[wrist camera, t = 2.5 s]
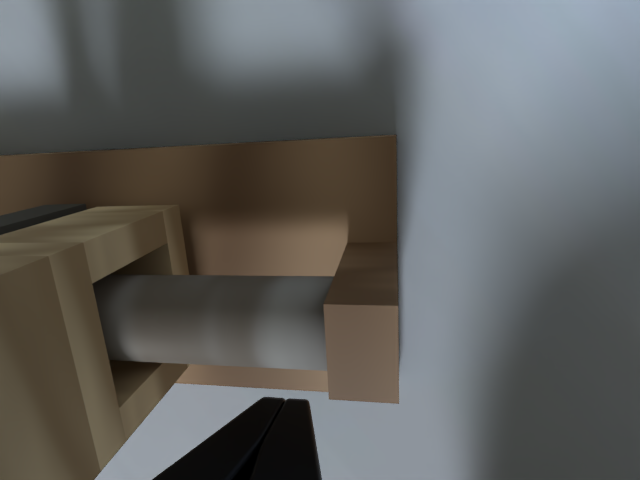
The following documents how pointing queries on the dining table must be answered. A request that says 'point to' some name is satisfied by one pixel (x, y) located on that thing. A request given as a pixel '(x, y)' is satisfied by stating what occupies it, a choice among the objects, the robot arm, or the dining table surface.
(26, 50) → the dining table surface
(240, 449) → the robot arm
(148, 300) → the pipe stand
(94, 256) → the sleeve
